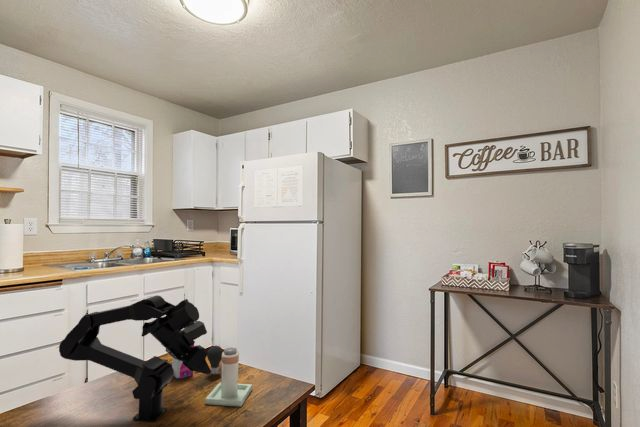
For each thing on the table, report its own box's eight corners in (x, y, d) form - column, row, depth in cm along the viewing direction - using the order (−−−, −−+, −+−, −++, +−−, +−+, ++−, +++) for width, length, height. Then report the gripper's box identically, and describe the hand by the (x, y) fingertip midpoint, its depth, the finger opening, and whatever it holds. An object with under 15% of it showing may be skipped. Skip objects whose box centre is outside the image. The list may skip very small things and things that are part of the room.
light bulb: (220, 377, 121) (220, 348, 121) (204, 377, 121) (205, 348, 121) (224, 371, 126) (225, 343, 127) (209, 370, 126) (210, 343, 127)
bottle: (235, 399, 105) (236, 352, 105) (218, 399, 105) (219, 352, 105) (239, 391, 110) (240, 346, 111) (223, 391, 110) (224, 346, 111)
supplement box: (176, 380, 118) (177, 346, 119) (171, 374, 123) (172, 341, 123) (193, 375, 122) (194, 342, 123) (187, 370, 127) (189, 338, 127)
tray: (241, 406, 102) (241, 401, 102) (205, 404, 103) (205, 398, 103) (251, 389, 112) (252, 384, 113) (219, 387, 114) (219, 382, 114)
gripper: (203, 318, 96) (237, 353, 102) (179, 308, 110) (210, 339, 116) (172, 352, 90) (209, 387, 96) (150, 337, 103) (184, 368, 110)
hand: (203, 368), depth 104 cm, fingers open, 9 cm apart
